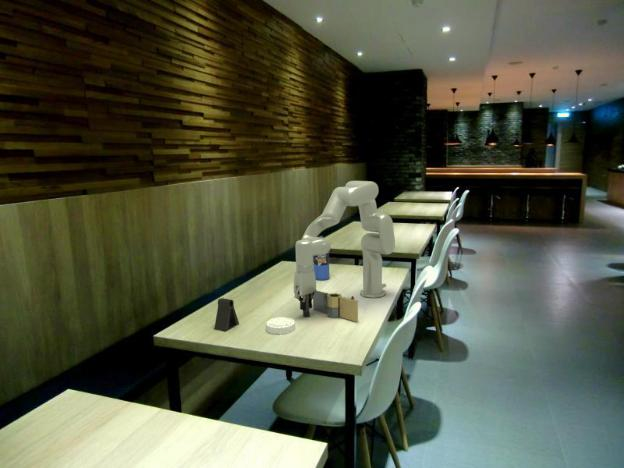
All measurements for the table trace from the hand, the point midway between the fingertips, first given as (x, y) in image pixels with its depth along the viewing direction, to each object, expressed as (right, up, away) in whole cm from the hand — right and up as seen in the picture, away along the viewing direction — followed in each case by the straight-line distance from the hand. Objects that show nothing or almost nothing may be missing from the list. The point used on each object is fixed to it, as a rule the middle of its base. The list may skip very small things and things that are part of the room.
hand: (306, 308), depth 193 cm
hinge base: (+9, -3, +4) cm, 10 cm away
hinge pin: (0, -3, +1) cm, 3 cm away
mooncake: (-10, -7, -13) cm, 18 cm away
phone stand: (-33, -6, -10) cm, 35 cm away
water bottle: (+8, +7, +61) cm, 62 cm away
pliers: (+15, -1, +16) cm, 21 cm away
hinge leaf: (+16, -3, -2) cm, 17 cm away
